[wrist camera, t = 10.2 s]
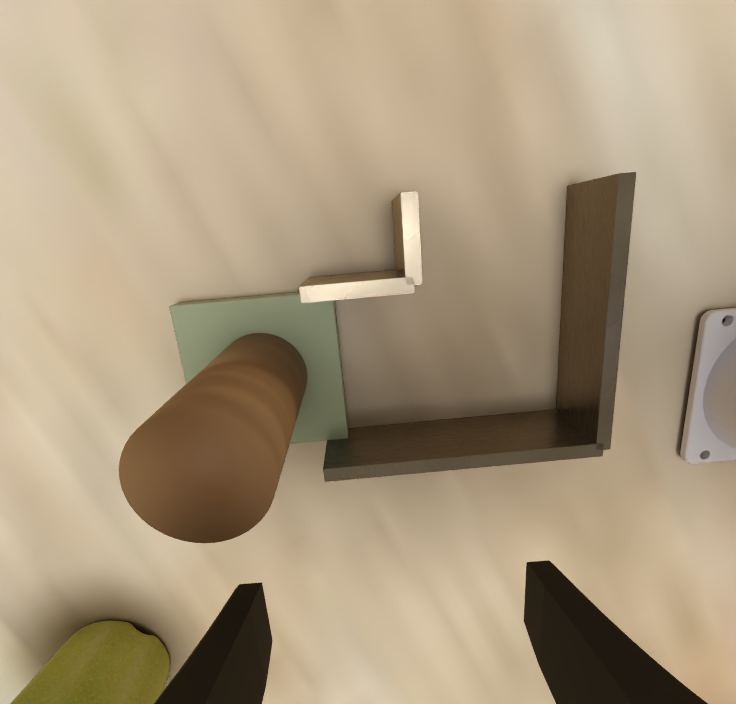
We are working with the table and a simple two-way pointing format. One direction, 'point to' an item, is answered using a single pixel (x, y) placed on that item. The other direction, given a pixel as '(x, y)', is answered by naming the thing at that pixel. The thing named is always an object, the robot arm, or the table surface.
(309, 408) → the end pad
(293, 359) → the peg
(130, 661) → the plant pot
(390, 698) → the table surface
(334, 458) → the walled course
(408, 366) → the table surface
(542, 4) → the table surface
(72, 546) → the table surface
